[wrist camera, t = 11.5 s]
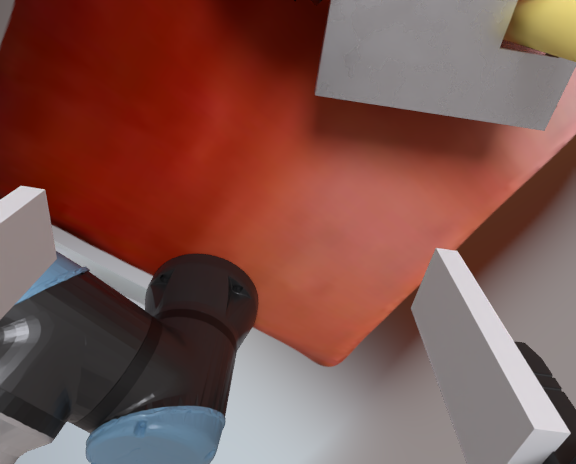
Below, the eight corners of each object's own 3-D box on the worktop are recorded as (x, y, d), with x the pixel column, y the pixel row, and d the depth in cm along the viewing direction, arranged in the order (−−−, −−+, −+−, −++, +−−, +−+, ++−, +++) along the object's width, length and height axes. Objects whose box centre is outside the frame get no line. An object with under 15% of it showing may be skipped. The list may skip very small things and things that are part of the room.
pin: (510, 38, 37) (622, 72, 26) (474, 33, 37) (572, 64, 25) (528, -6, 35) (658, 9, 24) (490, -12, 35) (604, 0, 23)
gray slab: (504, 107, 41) (544, 130, 34) (313, 77, 40) (314, 95, 33) (586, -88, 33) (660, -110, 26) (347, -131, 32) (359, -165, 25)
